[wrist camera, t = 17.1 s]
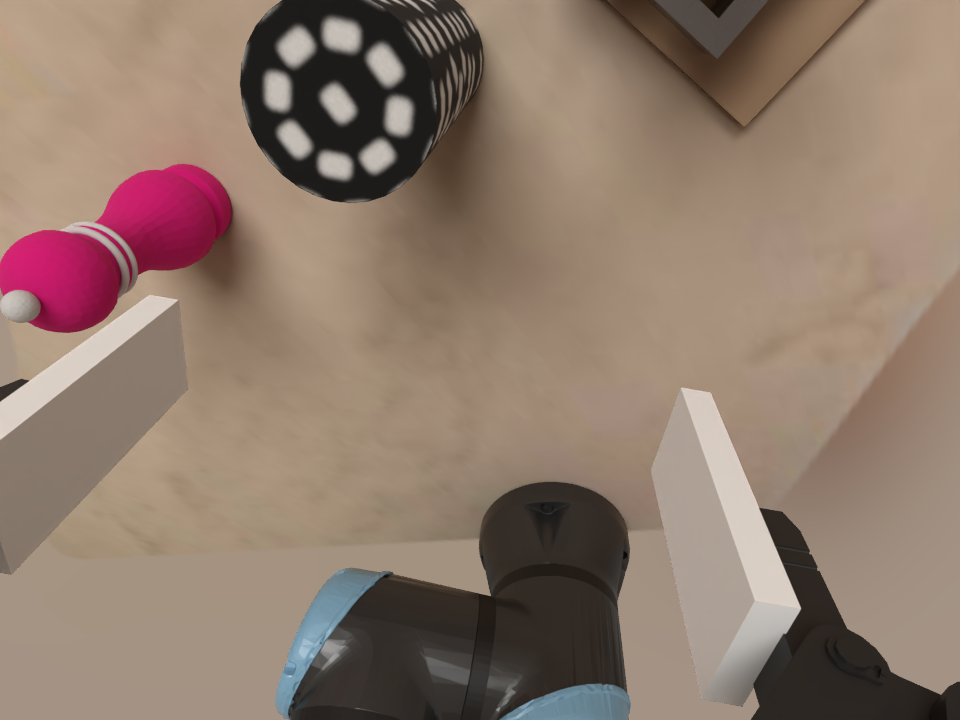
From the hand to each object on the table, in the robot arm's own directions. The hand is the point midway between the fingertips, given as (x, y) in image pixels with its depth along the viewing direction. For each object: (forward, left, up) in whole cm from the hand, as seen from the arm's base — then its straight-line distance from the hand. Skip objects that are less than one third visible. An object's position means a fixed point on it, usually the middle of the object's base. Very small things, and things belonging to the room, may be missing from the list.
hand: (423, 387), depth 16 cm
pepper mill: (+17, +20, -34) cm, 42 cm away
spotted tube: (+8, 0, -34) cm, 35 cm away
